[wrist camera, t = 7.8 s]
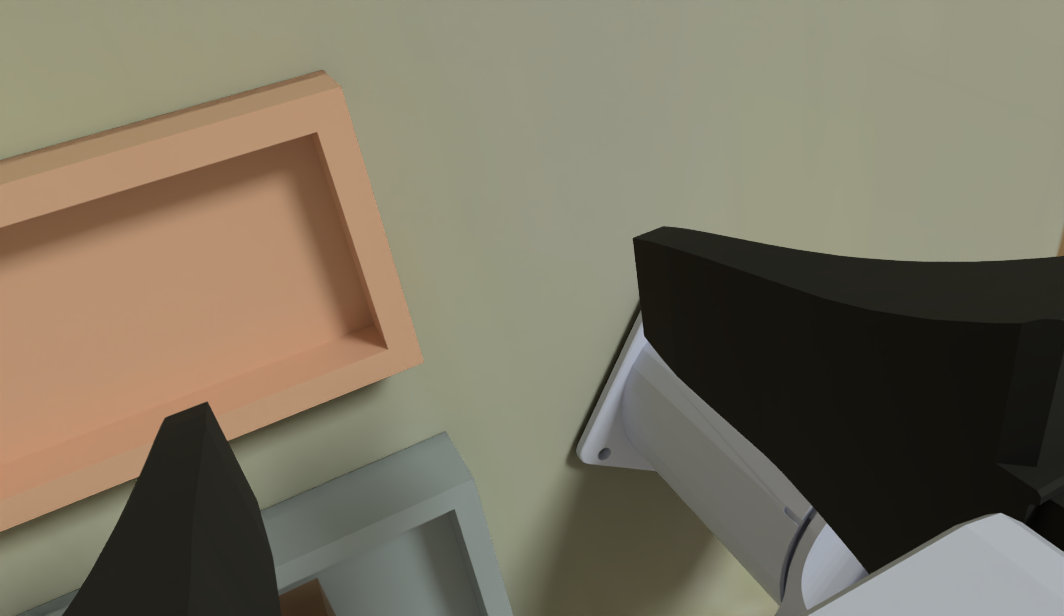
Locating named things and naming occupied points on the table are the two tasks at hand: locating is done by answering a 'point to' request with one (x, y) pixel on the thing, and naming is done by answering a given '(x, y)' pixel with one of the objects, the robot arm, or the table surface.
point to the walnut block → (306, 601)
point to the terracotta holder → (186, 285)
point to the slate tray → (386, 540)
